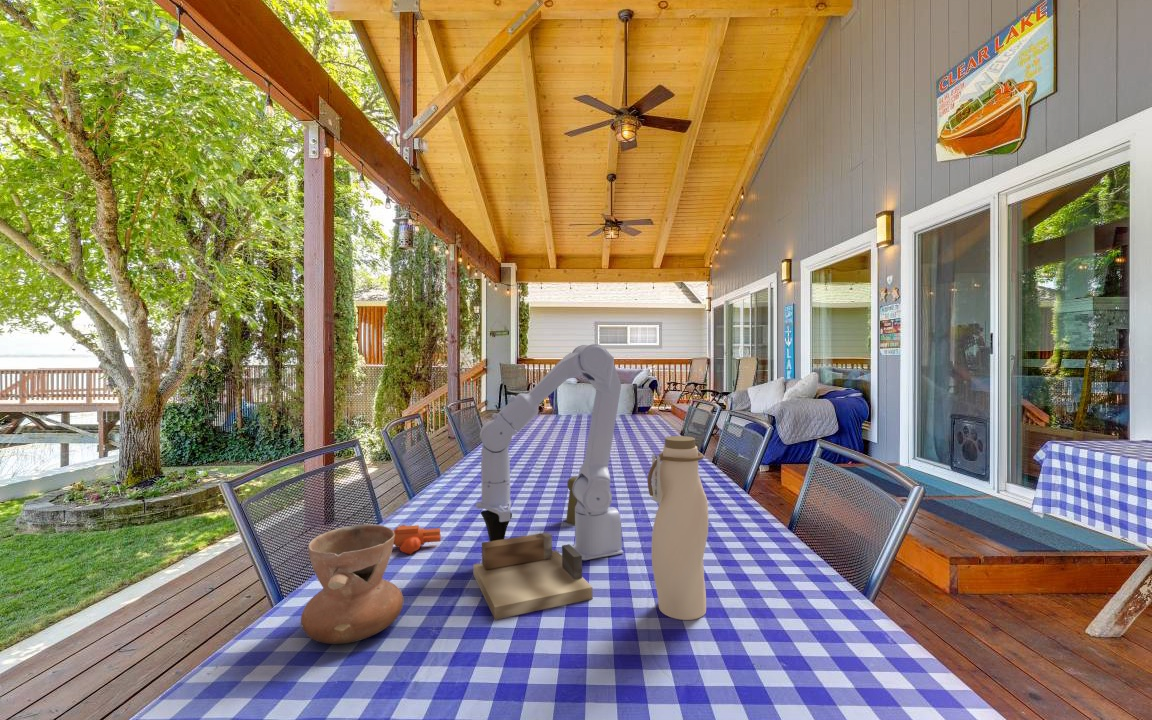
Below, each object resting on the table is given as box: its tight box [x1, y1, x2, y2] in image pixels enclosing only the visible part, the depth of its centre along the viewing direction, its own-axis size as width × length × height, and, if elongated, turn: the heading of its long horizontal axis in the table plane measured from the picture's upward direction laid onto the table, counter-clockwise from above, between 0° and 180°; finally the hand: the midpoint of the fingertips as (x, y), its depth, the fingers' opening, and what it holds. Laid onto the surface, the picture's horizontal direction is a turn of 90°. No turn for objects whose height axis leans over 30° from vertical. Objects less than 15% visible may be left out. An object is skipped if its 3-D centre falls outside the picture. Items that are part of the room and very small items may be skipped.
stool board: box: [472, 544, 594, 621], centre depth 91 cm, size 17×18×6 cm
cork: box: [565, 476, 578, 525], centre depth 128 cm, size 6×6×11 cm
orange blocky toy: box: [392, 524, 442, 555], centre depth 110 cm, size 5×8×12 cm
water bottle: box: [647, 435, 709, 621], centre depth 82 cm, size 10×9×28 cm
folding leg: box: [481, 532, 553, 570], centre depth 97 cm, size 14×3×4 cm, turn 112°
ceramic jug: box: [300, 523, 404, 645], centre depth 79 cm, size 18×14×14 cm
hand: (496, 546), depth 102 cm, fingers closed
